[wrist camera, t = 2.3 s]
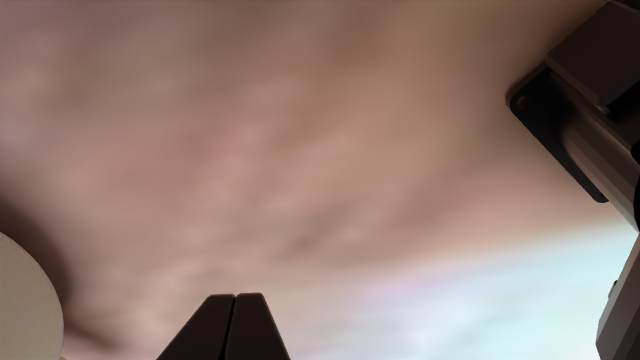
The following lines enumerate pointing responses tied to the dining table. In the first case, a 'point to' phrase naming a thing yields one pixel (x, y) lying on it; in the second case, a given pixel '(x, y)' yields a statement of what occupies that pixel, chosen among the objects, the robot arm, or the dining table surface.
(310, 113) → the dining table surface
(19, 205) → the dining table surface
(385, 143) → the dining table surface
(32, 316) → the teacup
